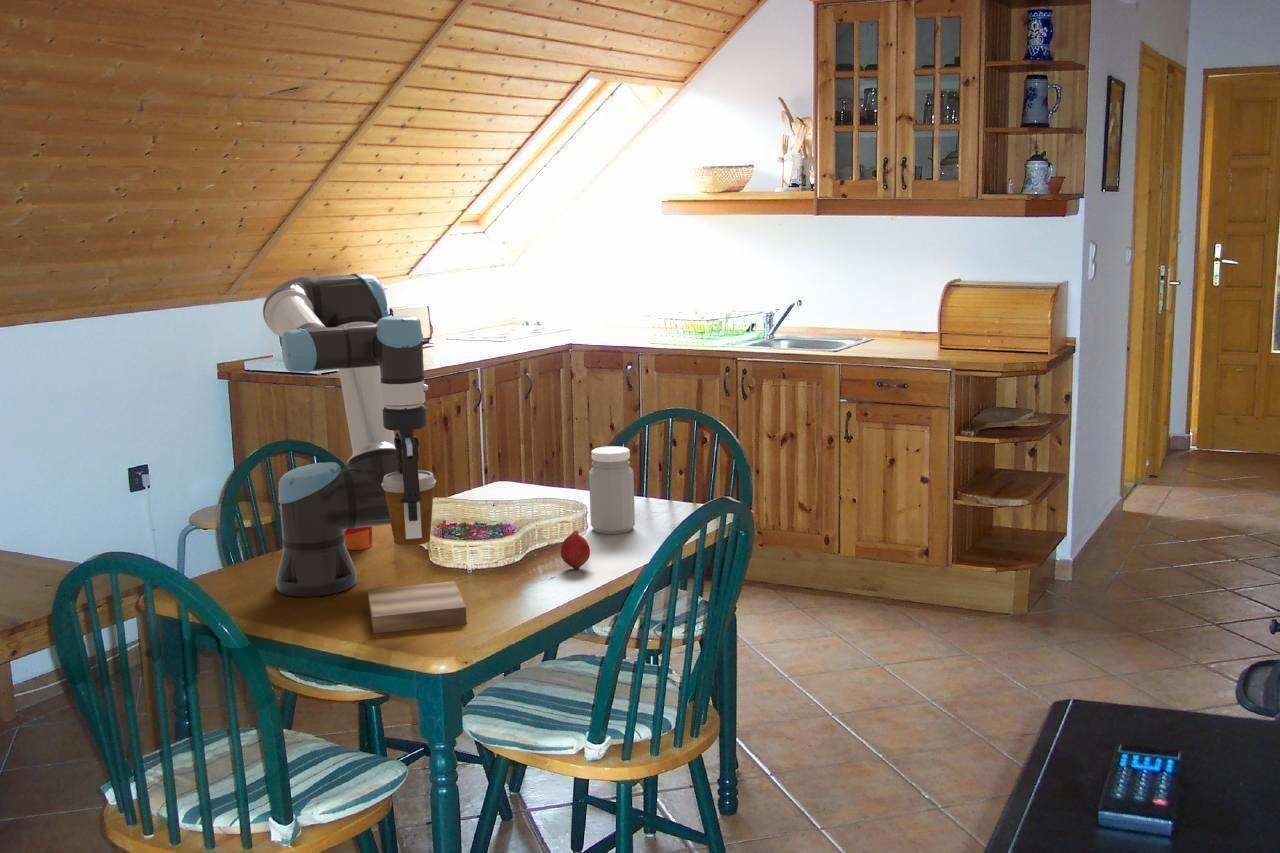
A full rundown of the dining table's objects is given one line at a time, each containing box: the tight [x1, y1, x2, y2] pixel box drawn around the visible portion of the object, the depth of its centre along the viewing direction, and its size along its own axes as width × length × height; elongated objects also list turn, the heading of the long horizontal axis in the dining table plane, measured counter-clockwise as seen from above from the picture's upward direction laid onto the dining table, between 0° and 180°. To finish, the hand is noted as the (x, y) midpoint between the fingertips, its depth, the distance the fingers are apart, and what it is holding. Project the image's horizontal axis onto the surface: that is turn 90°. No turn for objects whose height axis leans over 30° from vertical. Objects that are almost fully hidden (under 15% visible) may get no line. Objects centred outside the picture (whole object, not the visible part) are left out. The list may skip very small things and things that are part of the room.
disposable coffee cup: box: [381, 469, 437, 547], centre depth 230 cm, size 10×10×12 cm
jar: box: [588, 445, 636, 535], centre depth 286 cm, size 10×10×18 cm
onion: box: [560, 529, 591, 570], centre depth 258 cm, size 6×6×8 cm
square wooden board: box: [367, 580, 468, 634], centre depth 233 cm, size 16×16×3 cm
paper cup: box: [344, 526, 373, 551], centre depth 278 cm, size 8×8×14 cm
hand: (411, 531), depth 231 cm, fingers closed on disposable coffee cup, 8 cm apart
